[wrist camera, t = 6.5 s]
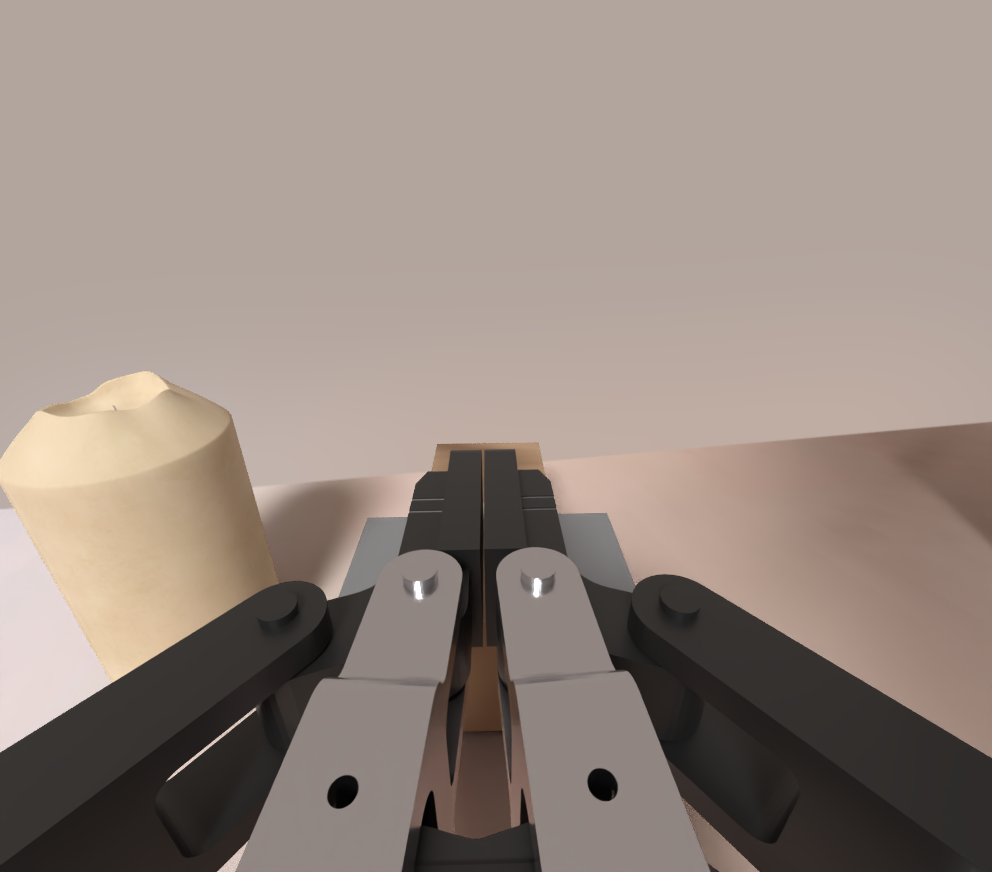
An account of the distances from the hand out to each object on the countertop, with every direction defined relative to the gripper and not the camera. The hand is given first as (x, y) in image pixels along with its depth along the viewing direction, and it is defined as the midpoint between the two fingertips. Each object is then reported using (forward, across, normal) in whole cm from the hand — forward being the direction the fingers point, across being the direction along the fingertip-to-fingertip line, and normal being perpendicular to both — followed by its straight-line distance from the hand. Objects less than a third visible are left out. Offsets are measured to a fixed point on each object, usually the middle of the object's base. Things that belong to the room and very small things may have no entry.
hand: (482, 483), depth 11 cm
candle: (+3, +10, +9) cm, 14 cm away
